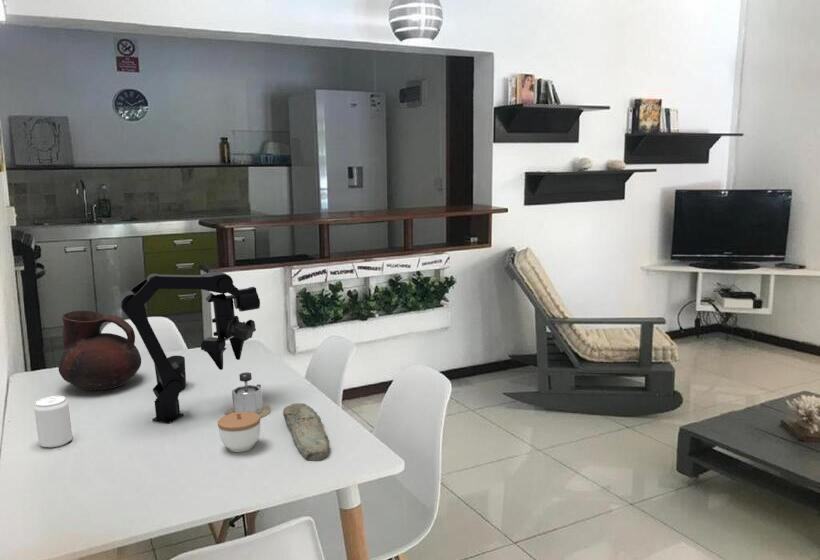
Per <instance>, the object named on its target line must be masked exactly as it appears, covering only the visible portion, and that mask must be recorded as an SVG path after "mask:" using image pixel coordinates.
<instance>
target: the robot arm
mask: <svg viewBox="0 0 820 560" xmlns="http://www.w3.org/2000/svg"><path fill="white" fill-rule="evenodd" d="M159 290H203V291H206V292H209V295H207V297H205V300H206V301H207V302H208V303H212V305H213V314H214V318H212V319H211V323H215V331H214V332H213V336H208V337H207V338H205V339H204V338H203V339H202V340H201V342H200V350H201V351H203V352H205V353H207V354H208V355H209V357H210V358H211V360H212V361H213V362H214V364H215V365H216V367H217V369H218V370H220V371H222V370H223V369H224V352H225V351H226V349H227V347H226V342H227V341H229V343H230V345H231V348H232V351H233V354H234V357H235V359H236V361H240V359H241V357H242V351H243V347H244V343H245V342H247V341H248V340H249V339H252V338H253V334H254V332H256V331H257V329H256V322H255V320H253V319H248V320H247V321H246V322H245V321H243V322H241V321H240V318H239V316H238V315H235V310H238V311H239V312H240V313H241V312H247V311H253V310H259V309H260V307H261V299H260V298H259V293H258V290H257V287H255V286H250V287H246V288H237V287H236V286H235V285H234V281H233V278H232V277H231V276H230V275H229V274H227V273H225V272H224V271H221V270H220V271H219V270H218V271H213V272H212V271H211V272H206V273H203V274H196V275H195V274H157V273H150V274H149V275H148V276H146V277H145V279H144V280H142V281H141V282H139V283H138V284H136V285H135V286H133V288H131V290H126V291H124V292H122V293H121V294H120V295H119V298H118V301H117V302H118V305H119V307H120V309H121V310H122V312H123V313H124V314H125V315H126V316H127V318H128V319H129V320H130V322H131V323H132V324H133V325H134V326H135V329H136V330H137V332H138V335H139V336H140V338H141V340H142V342H143V344H144V346H145V348H146V350H147V352H148V353H149V355H150V358H151V359H152V362H153V363H155V365H154V367H155V366H156V370H157V374H158V378H159V383H158V384H157V383H156V385H155V386H154V387H153V388H152V391H153V393H154V395H155V397H156V398H155V400H154V408H155V409H154V410H155V416H154V417H152V418H151V420H152V422H156V423H157V422H158V423H165V424H171V423H173V422H175V421H176V420H178V419H179V418H182V417H183V416H185V415H184V414H185V413H182V412H181V410H180V409H181V408H180V401H179V400H180V399H179V395H180V393H181V392H182V391H184V390H183V388H184V381H183V380H184V379H185V378H184V376H183V375H182V374H181V371H180V368H179V366H178V365H177V364H176V362H174V363H173V364H170V362H169V361H168V359H167V358H168V357H167V354H166V353H165V351H164V349H163V348H162V345H161V344H160V342H159V340H158V337H157V336H156V334H155V331H154V329H153V328H152V325H151V324H150V322H149V319H148V315H147V314H148V313H147V310H146V307H145V306H146V303H147V302H149V300H150V299H152V297H153V296H154V294H156V292H158V291H159ZM214 293H215V294H214ZM226 294H229V295H226Z"/></svg>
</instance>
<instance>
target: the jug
mask: <svg viewBox="0 0 820 560" xmlns="http://www.w3.org/2000/svg"><path fill="white" fill-rule="evenodd" d="M61 319H62V321H63V328H62V342H63V347H64V350H63V352H62V354H61V355H60V358H59V361H58V372H59V375H60V376H61V378H62V379H63V380H64V381H65V382H67V383H69V384H71V385H72V386H74V387H76V388H77V389H78V388H79V389H82V390H85V391H86V390H87V391H103V390H110V389H113V388H117V387H119V386H121V385H123V384H126V383H127V382H129V381H130V380H131V379H132V378H133V377H134V376H135V375H136V374H137V373H138V371H140V368H141V366H142V356H141V354H140V352H139V350H138V347H137V346H136V345H135V344H136V343H135V342H136V335H135V334H136V333H135V331H134V328H133V327H132V325H131V324H129V322H127V320H125V319H123V318H121V317H120V316H118V315H105V314H103V313H101V312H95V311H92V310H73V311H69V312H66V313H63V314H62V315H61ZM105 322H108V323H112V324H115V325H116V326H118V327H119V328H120V329H122V330H123V332H125V335H126V337H127V338H126V337H125V336H122V335H119V334H115V333H109V332H108V333H107V332H103V333H102V332H100V330H101V327H102V325H103V323H105Z"/></svg>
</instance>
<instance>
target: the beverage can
mask: <svg viewBox="0 0 820 560" xmlns="http://www.w3.org/2000/svg"><path fill="white" fill-rule="evenodd" d="M33 411H34V416H35V418H34V419H35V425H36V432H37V438H38V439H37V440H38V445H39V446H40V447H43V448H57V447H61V446H64V445H66V444H68V443H69V442H71V441H72V439H73V430H72V422H71V412H70V406H69V402H68V400H67V398H66V397H65V396H63V395H52V396H46V397H42V398H40V399H37V401H36V402H35V405H34V408H33Z"/></svg>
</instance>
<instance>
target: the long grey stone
mask: <svg viewBox="0 0 820 560" xmlns="http://www.w3.org/2000/svg"><path fill="white" fill-rule="evenodd" d="M282 411H283V412H282V417H283V419H284V422H285V423H286V426H287V428H288V430H289V431H290V433H291V437H292V442H293V443H294V445H295V446H296V448H297V450H298V452H299V454H301V456H302V457H303V458H304V459H307V460H309V461H321V460H324V459H327V457H328V455H329V453H330V449H329V447H330V443H329V441H328V440H329V436H328V435H327V434H326V433H325V428H324V425H323V423H322V421H321V420H322V418H321V416H320V415H318V412H316V411H315V410H314V408H313V407H310V405H308V404H306V403H303V402H302V403H301V402H297V403H291V404H290V405H287V406H285V407H284V408H283V410H282Z"/></svg>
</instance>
